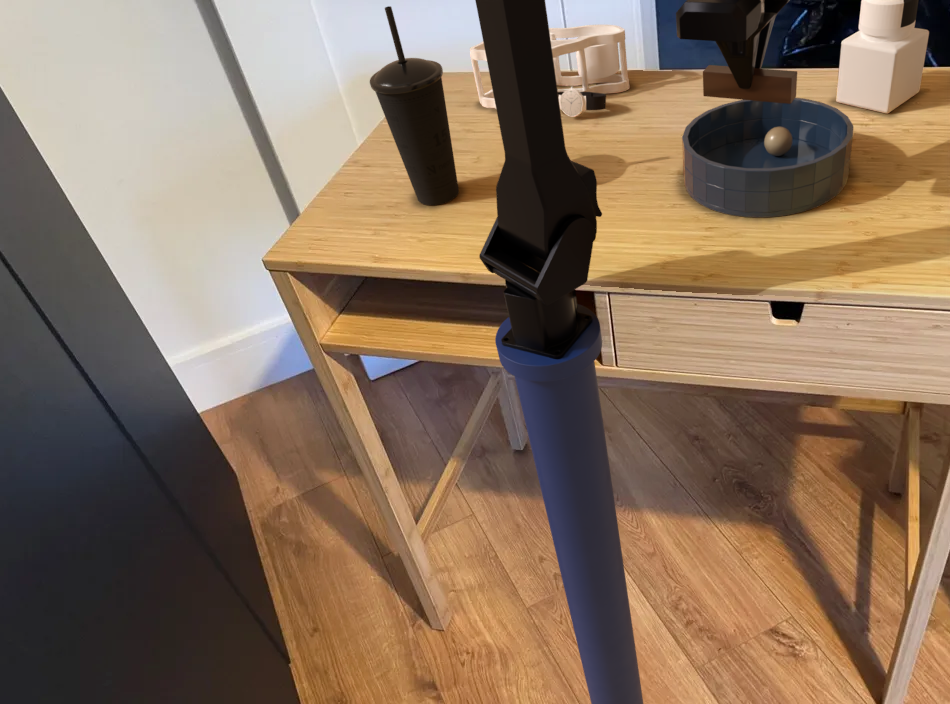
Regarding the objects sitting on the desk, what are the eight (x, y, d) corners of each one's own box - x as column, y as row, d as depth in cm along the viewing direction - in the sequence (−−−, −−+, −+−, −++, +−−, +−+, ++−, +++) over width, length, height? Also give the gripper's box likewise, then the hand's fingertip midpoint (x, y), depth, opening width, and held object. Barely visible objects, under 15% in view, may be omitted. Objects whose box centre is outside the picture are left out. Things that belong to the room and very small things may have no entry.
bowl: (818, 229, 80) (822, 180, 76) (658, 203, 87) (655, 159, 83) (867, 149, 90) (873, 104, 86) (720, 133, 97) (720, 90, 93)
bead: (786, 162, 89) (787, 135, 86) (759, 159, 90) (760, 132, 88) (795, 150, 90) (797, 123, 88) (769, 146, 92) (770, 120, 89)
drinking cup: (393, 209, 93) (334, 21, 79) (426, 177, 98) (376, -6, 84) (451, 214, 90) (400, 21, 76) (482, 181, 95) (440, -7, 81)
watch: (544, 117, 105) (540, 89, 103) (559, 102, 108) (555, 74, 106) (600, 120, 103) (596, 91, 100) (613, 104, 106) (610, 76, 103)
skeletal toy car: (635, 73, 113) (631, 15, 108) (621, 107, 105) (616, 47, 100) (498, 79, 117) (487, 24, 112) (475, 112, 110) (463, 55, 105)
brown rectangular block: (790, 104, 77) (791, 78, 75) (703, 96, 80) (702, 71, 79) (796, 96, 77) (797, 71, 76) (709, 89, 81) (709, 64, 79)
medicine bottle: (867, 81, 102) (879, -26, 94) (920, 92, 98) (938, -18, 89) (834, 102, 99) (844, -6, 90) (887, 115, 95) (903, 2, 86)
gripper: (810, -75, 58) (798, 136, 69) (882, -142, 69) (862, 50, 80) (668, -74, 63) (678, 124, 74) (756, -137, 74) (753, 44, 85)
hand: (748, 84), depth 78 cm, fingers closed on brown rectangular block, 2 cm apart
